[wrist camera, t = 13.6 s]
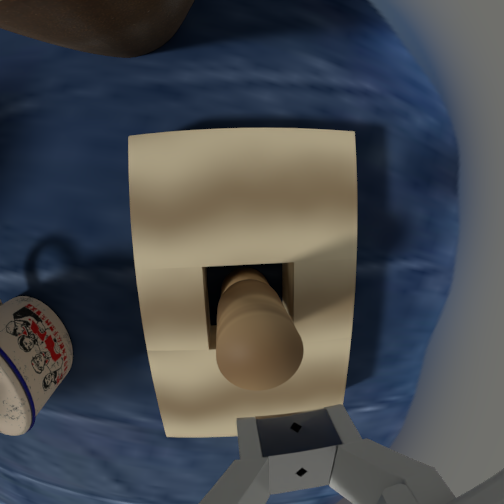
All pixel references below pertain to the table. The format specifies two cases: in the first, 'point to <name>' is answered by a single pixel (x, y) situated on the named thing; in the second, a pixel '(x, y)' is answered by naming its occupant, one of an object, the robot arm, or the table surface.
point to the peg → (255, 333)
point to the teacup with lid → (29, 361)
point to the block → (243, 260)
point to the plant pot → (97, 23)
